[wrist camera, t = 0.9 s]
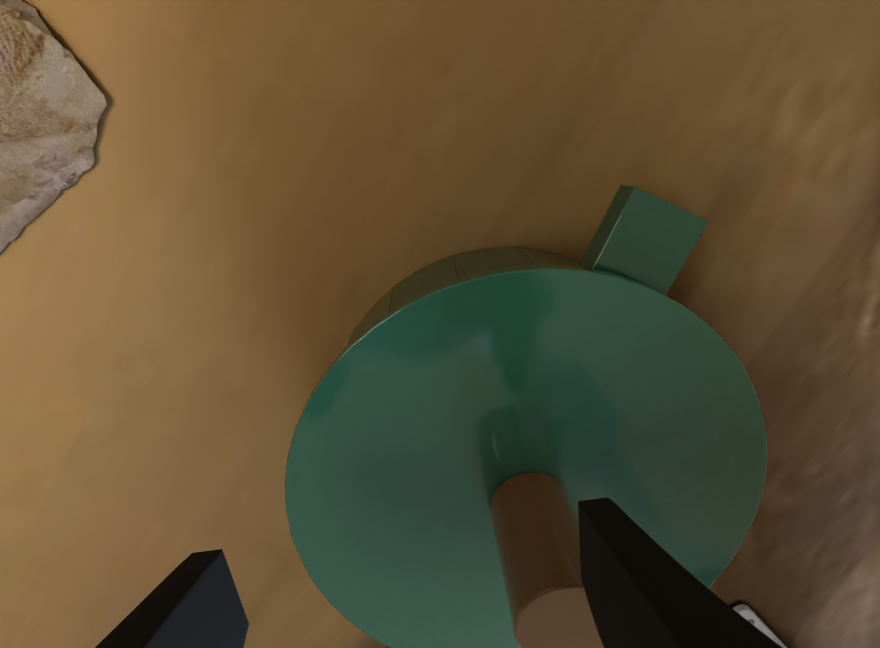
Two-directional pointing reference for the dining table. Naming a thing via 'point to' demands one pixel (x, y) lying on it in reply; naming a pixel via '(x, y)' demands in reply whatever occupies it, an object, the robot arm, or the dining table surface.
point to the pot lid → (517, 454)
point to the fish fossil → (40, 118)
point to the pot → (612, 250)
